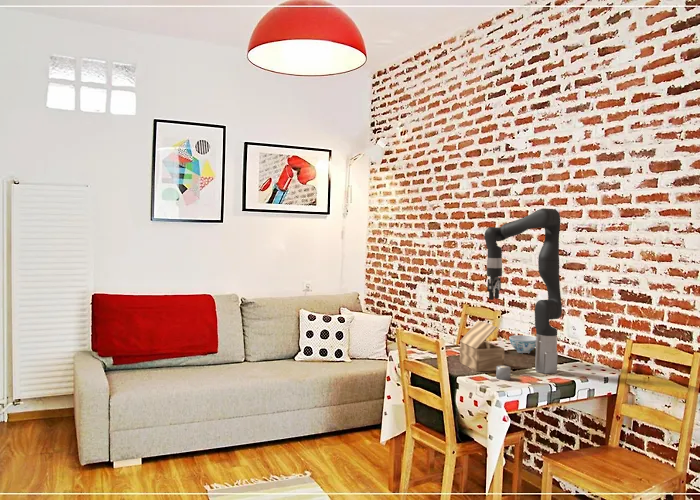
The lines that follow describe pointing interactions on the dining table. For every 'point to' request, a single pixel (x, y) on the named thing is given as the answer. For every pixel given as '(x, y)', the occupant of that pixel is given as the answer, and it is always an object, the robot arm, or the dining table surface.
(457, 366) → the dining table surface
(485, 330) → the box lid
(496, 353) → the wooden box
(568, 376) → the dining table surface
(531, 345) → the chinaware
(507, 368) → the grey rounded block
